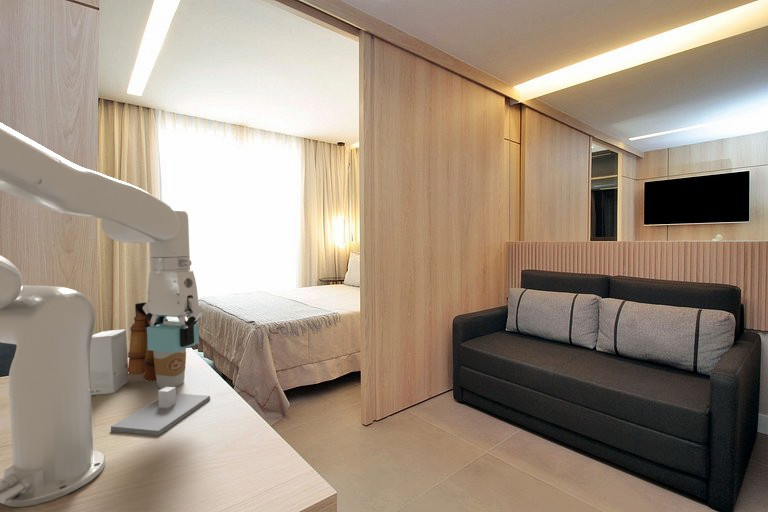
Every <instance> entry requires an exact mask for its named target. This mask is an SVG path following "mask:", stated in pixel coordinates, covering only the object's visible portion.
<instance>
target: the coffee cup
mask: <svg viewBox="0 0 768 512" xmlns="http://www.w3.org/2000/svg"><path fill="white" fill-rule="evenodd" d="M153 353H154V365H155V373H156V380H157V381H156V386H158V388H159V389H163V388H165V387H179V386H181V385H182V384H184V381H185V374H186V373H185V372H186V364H187V363H186V362H187V361H186V360H187V348H185V349H183V350H180V351H177V352H174V353H168V352H160V351H153ZM180 384H181V385H180ZM178 385H179V386H178Z"/></svg>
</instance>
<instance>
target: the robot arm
mask: <svg viewBox="0 0 768 512" xmlns="http://www.w3.org/2000/svg"><path fill="white" fill-rule="evenodd" d="M0 191H2V192H5V193H7V194H9V195H11V196H14V197H16V198H18V199H21V200H22V201H25V202H28V203H30V204H32V205H34V206H37V207H39V208H42V209H43V210H49V211H52V212H57V213H62V214H65V215H72V216H73V215H74V216H82V217H88V218H95V219H100V227H101V229H102V232H103V233H104V234H105V235H106V236H107V237H108V238H110V239H112V240H113V241H116V242H120V243H128V244H141V243H142V244H143V243H144V244H145V243H148V244H149V261H150V262H149V263H150V265H149V266H150V272H149V275H148V284H147V302H145V303H146V304H145V305H144V306H143V310H144V312H145V313H146V315H147V318H148V319H149V320H150V325H151V326H154V325H158V324H162V323H163V322H164V321H165V319H167V317H171V318H177V319H178V320H179V321H180V324H181V326H182V329H180V344H181V347H185V346H188V345H190V344H193V343H194V326H196V323H197V322H198V321H199V320H200V318H201V317H202V315H203V313H204V309H203V308H202V306H200V305H199V297H198V296H199V295H198V287H197V281H196V276H195V273H194V271H193V270H192V269H191V266H192V260H191V259H190V258H191V257H190V231H189V230H190V229H189V228H190V227H189V214H188V213H187V211H186V210H183V209H179V208H172V207H171V206H170V205H168V204H167V203H166V202H164V201H163V200H161V199H159V198H158V197H156V196H154V195H153V194H151V193H149V192H148V191H146V190H144V189H142V188H139V187H137V186H135V185H132V184H130V183H127V182H125V181H123V180H119V179H116V178H113V177H110V176H107V175H106V174H102V173H100V172H97V171H95V170H92V169H88V168H85V167H82V166H80V165H77V164H75V163H73V162H71V161H70V160H67V159H65V158H64V157H62V156H61V155H59V154H57V153H55V152H53V151H52V150H50V149H48V148H46V147H44V146H42V145H41V144H39V143H37V142H36V141H34V140H32V139H30V138H29V137H28V136H27V137H26V136H25V135H23V134H21V133H19V132H18V131H16V130H14V129H12V128H11V127H9V126H7V125H5V124H4V123H2V122H0ZM159 316H160V317H159ZM186 318H187V320H186ZM95 322H96V310H95V307H94V305H93V303H92V301H91V300H90V299H89V298H88V297H87V296H86V295H85V294H83V293H82V292H80V291H78V290H75V289H72V288H68V287H64V286H57V285H55V286H54V285H53V286H52V285H27V284H24V279H23V275H22V273H21V272H20V270H19V268H18V267H17V266H16V265H15V264H14V263H13V262H11V261H10V260H9V259H7V258H6V257H4V256H3V255H0V343H2V344H8V345H16V348H15V353H14V356H13V359H12V362H11V364H10V368H9V373H8V397H9V412H10V435H11V454H12V465H11V466H9V467H7V468H5V469H4V470H3V471H4V472H3V474H4V475H3V476H4V477H2V478H1V479H0V504H2V505H5V506H7V507H13V508H15V507H16V508H20V507H30V506H35V505H39V504H44V503H47V502H50V501H53V500H56V499H60V498H61V497H64V496H65V495H68V494H70V493H73V492H75V491H76V490H78V489H80V488H82V487H83V486H85V485H87V484H89V482H91V481H93V480H94V479H95V478H96V477H97V476H99V475H100V474H101V472H102V471H103V470H104V467H105V465H106V456H105V453H103V452H102V451H99V450H96V449H94V433H93V413H92V412H93V411H92V410H93V409H92V395H91V381H90V345H91V338H92V335H94V330H95V329H94V328H95Z"/></svg>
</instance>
